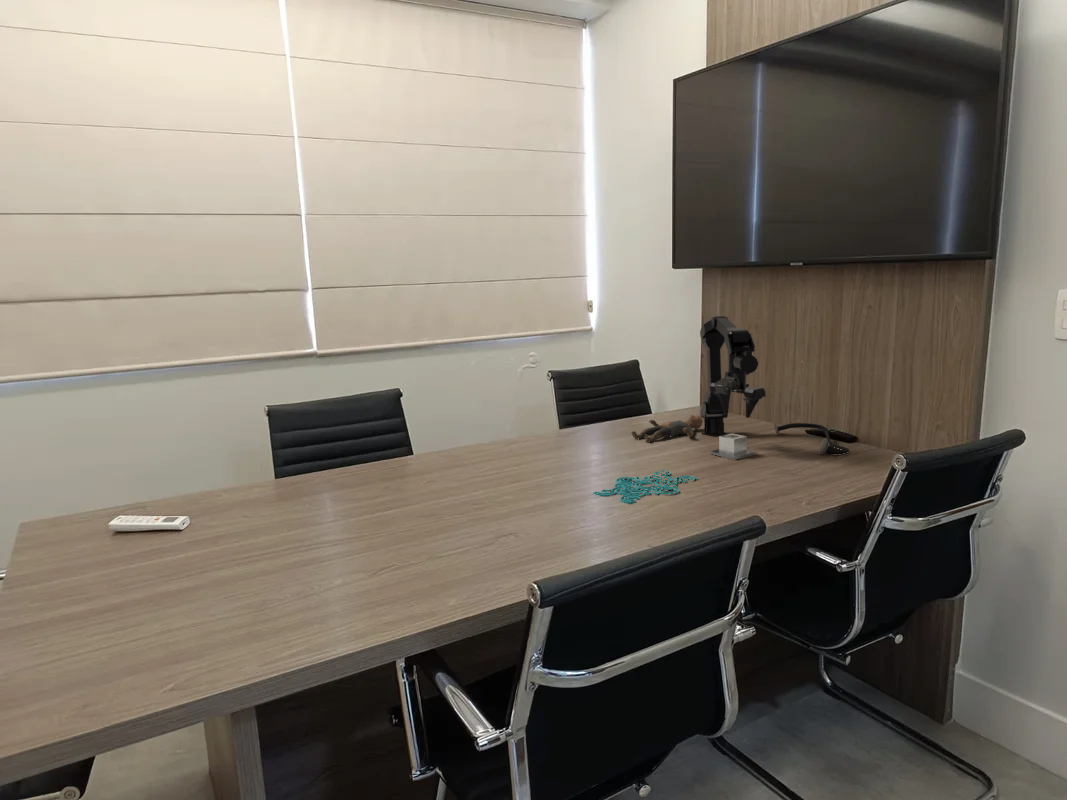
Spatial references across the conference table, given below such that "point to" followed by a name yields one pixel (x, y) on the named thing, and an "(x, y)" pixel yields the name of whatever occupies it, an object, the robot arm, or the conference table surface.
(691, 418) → the figurine
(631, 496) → the decorative art
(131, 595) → the conference table surface
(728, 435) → the grey hollow square block
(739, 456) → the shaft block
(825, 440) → the hose
